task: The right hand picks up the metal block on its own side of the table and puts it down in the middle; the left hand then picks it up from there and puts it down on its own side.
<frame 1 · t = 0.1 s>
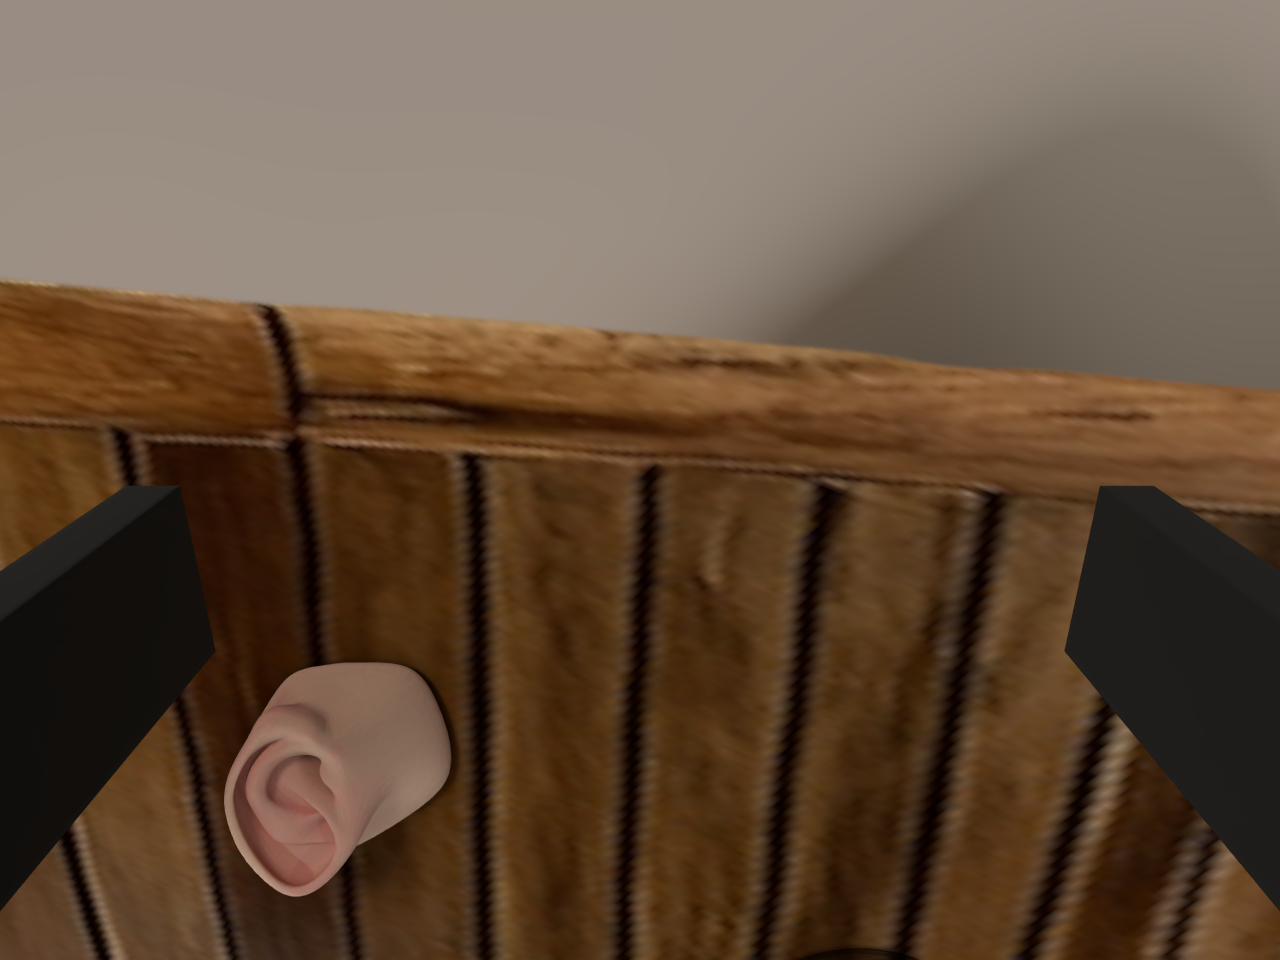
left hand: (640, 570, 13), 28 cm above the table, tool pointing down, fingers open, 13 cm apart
anatomical model: (347, 750, 48), on the table
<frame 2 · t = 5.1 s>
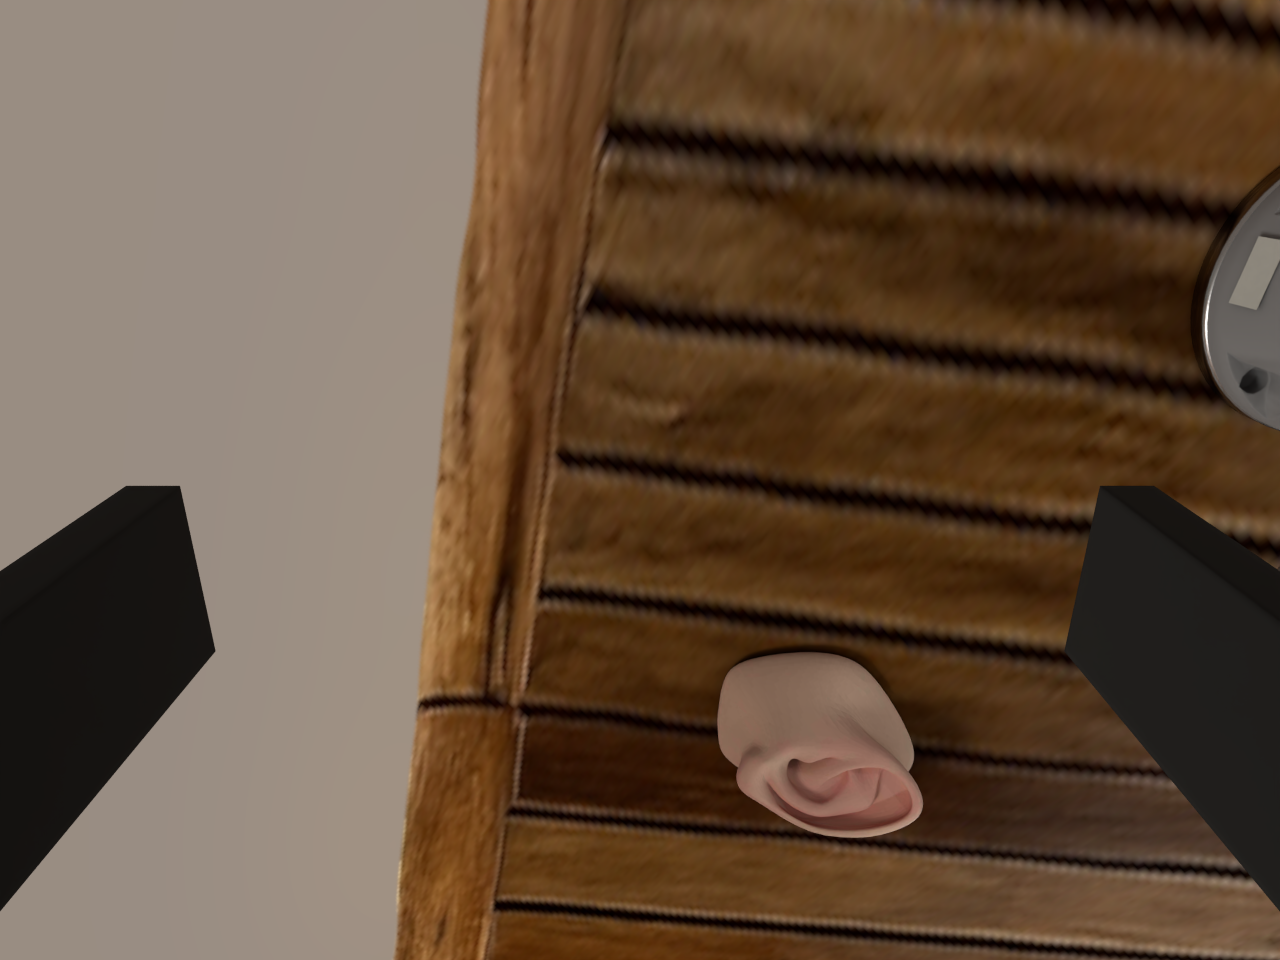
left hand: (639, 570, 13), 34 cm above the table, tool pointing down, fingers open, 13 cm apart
anatomical model: (809, 728, 55), on the table
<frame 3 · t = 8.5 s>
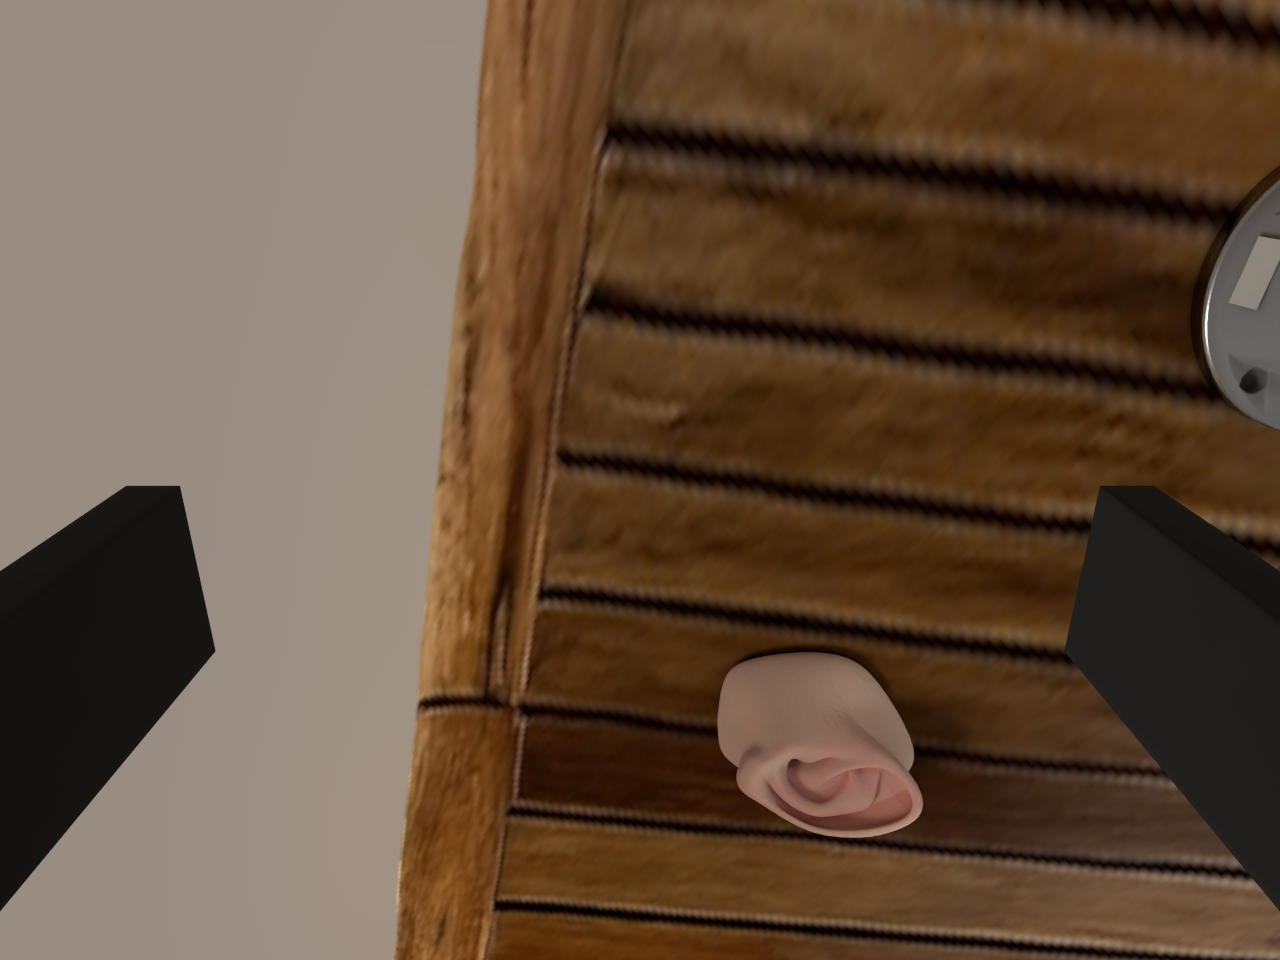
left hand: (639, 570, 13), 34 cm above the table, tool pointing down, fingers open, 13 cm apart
anatomical model: (809, 728, 55), on the table
when the right hand's fingers open (4 cm above the table, at t = 11.9 s): block drops 2 cm, on the table.
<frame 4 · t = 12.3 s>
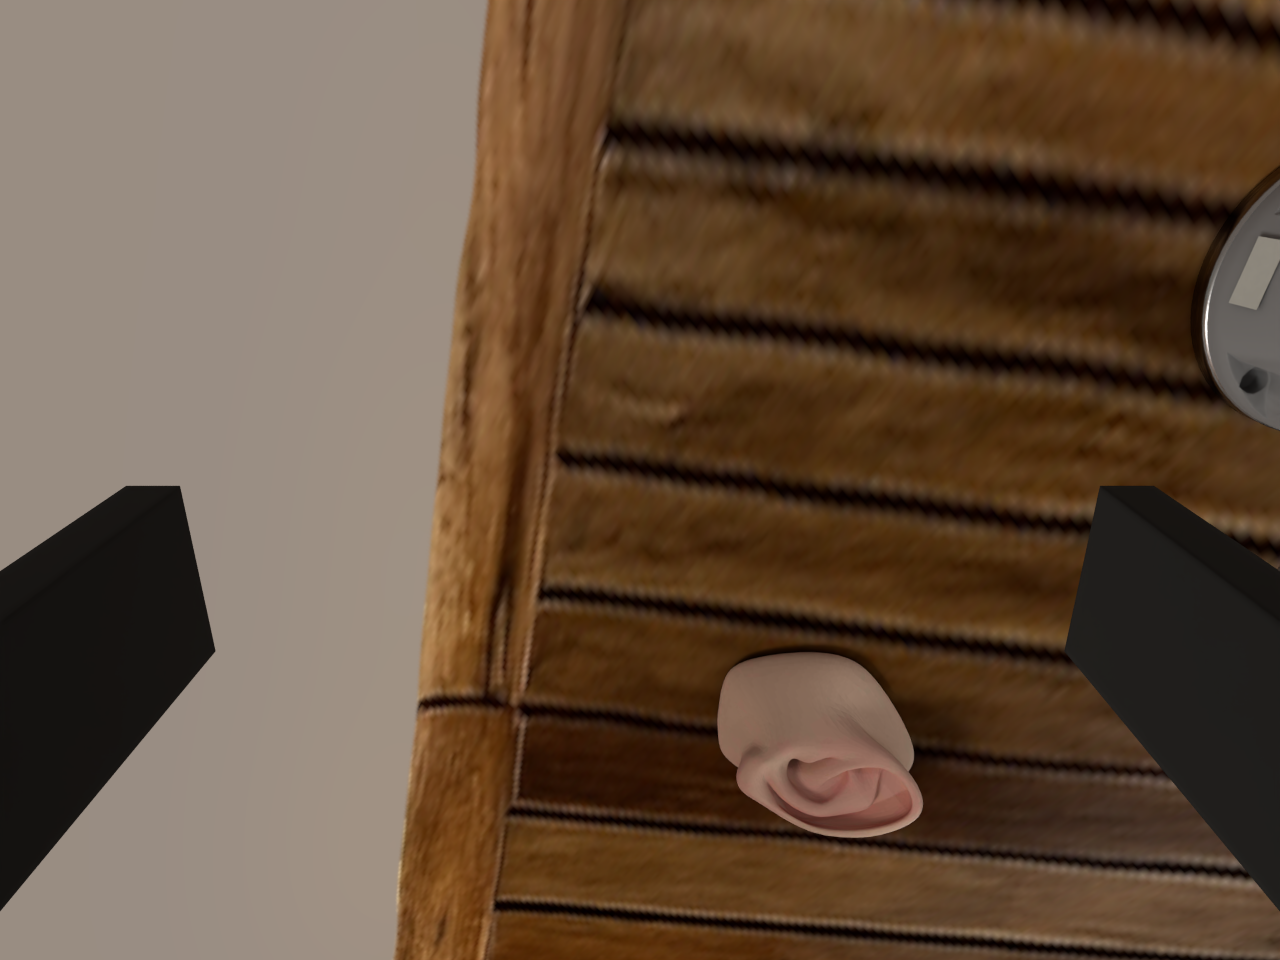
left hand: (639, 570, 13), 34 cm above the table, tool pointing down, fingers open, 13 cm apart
anatomical model: (809, 728, 55), on the table
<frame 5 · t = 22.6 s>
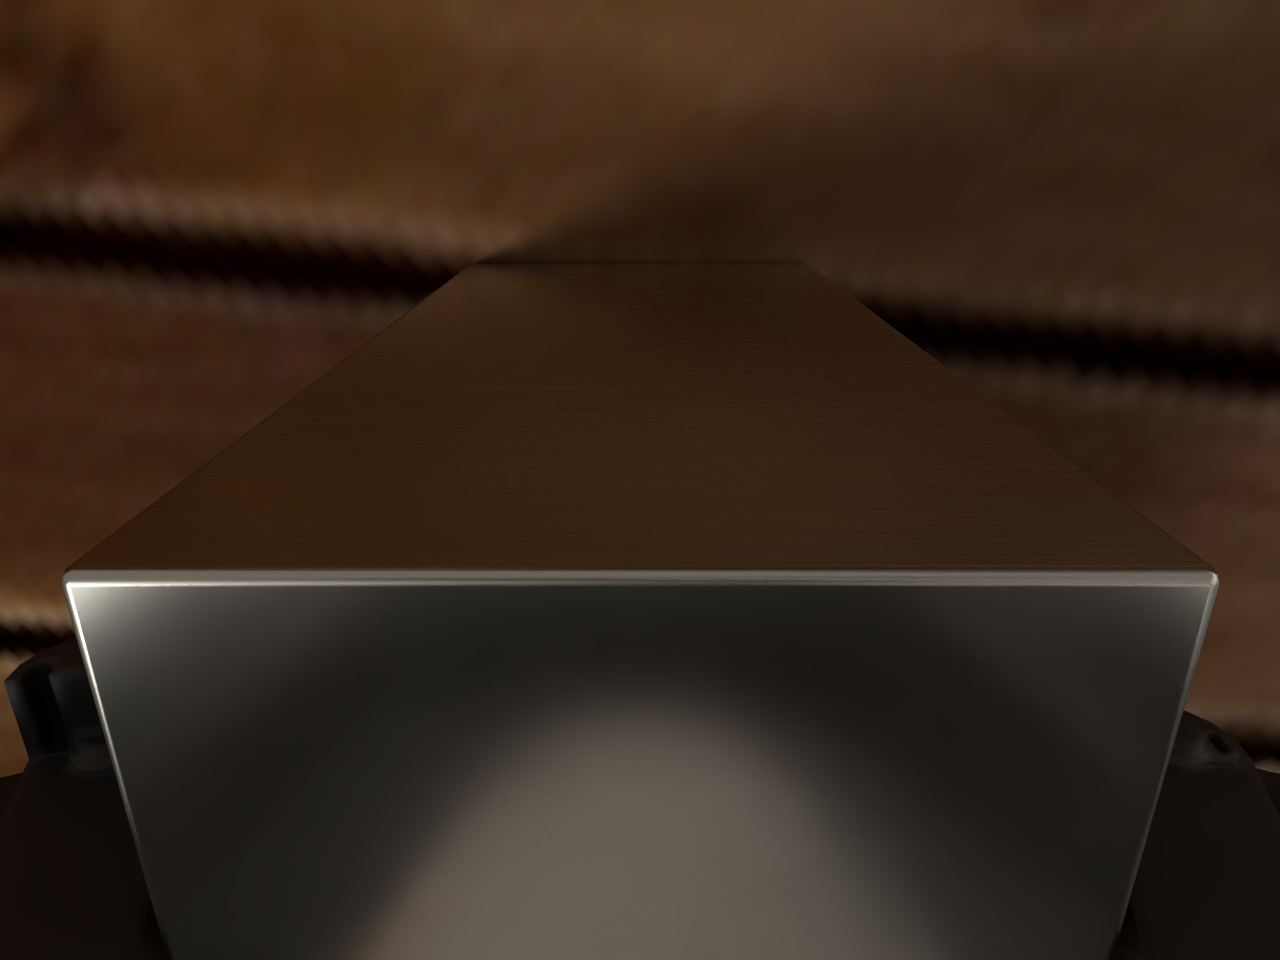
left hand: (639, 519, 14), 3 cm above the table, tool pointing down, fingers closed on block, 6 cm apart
block: (639, 461, 17), on the table, touching left hand
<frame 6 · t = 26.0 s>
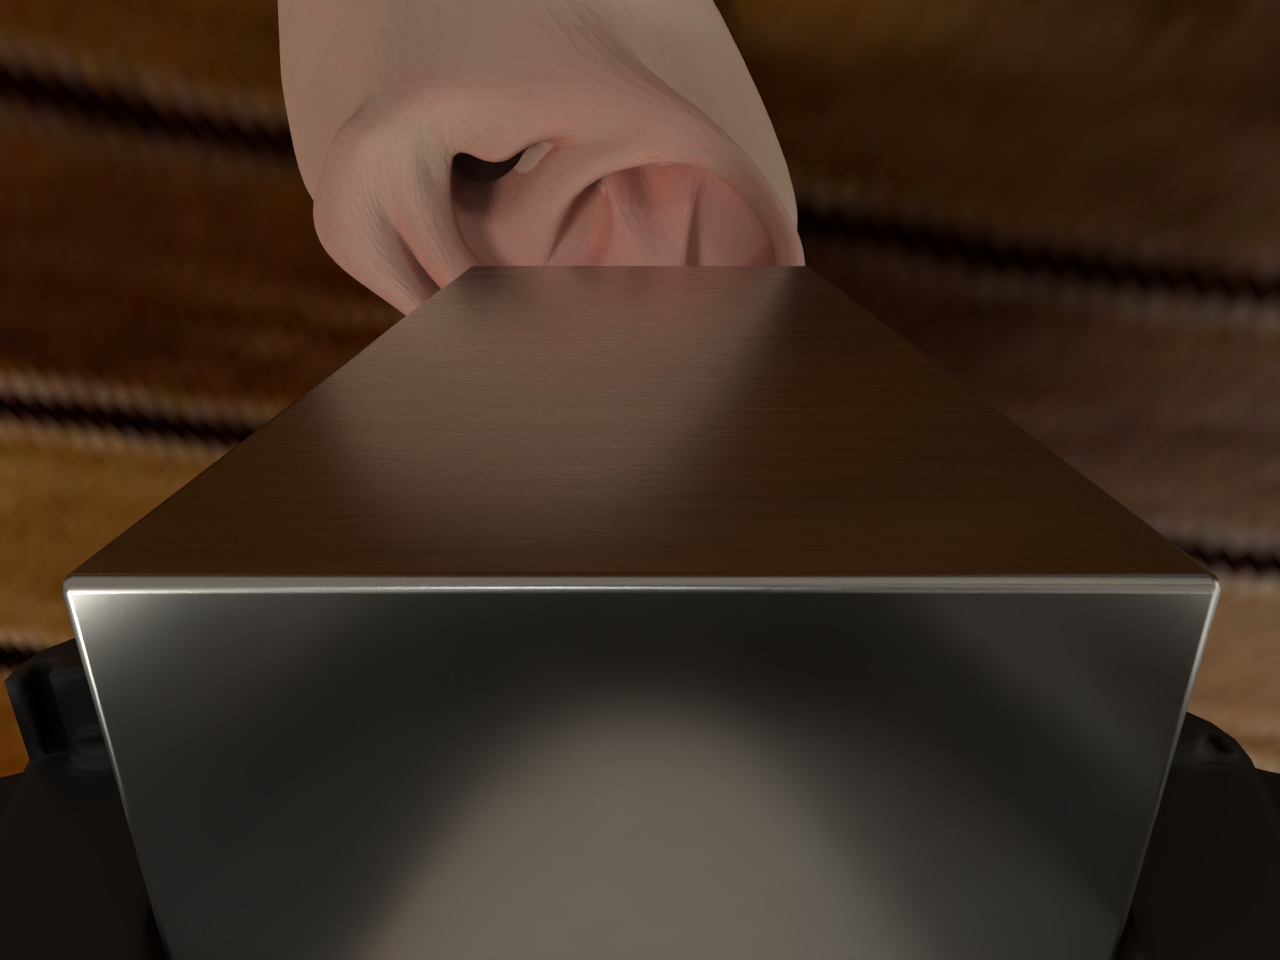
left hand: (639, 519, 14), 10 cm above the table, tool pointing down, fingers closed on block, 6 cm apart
anatomical model: (533, 139, 22), on the table
block: (639, 463, 17), point 7 cm above the table, touching left hand
when the left hand's fingers open (4 cm above the table, at t = 29.5 s): block drops 2 cm, on the table.
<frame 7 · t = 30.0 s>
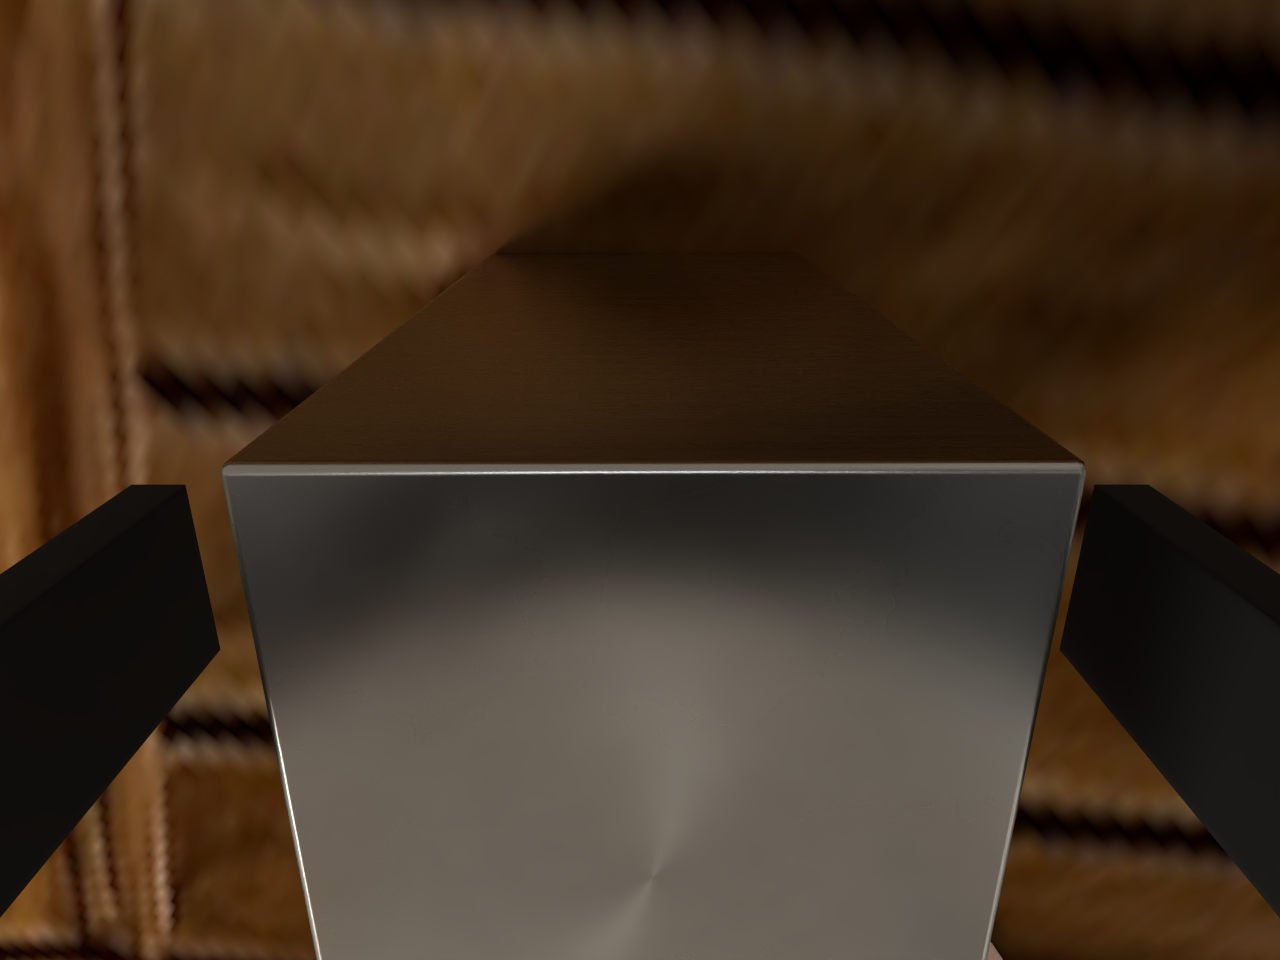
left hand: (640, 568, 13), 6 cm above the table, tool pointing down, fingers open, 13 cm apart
block: (644, 435, 18), on the table
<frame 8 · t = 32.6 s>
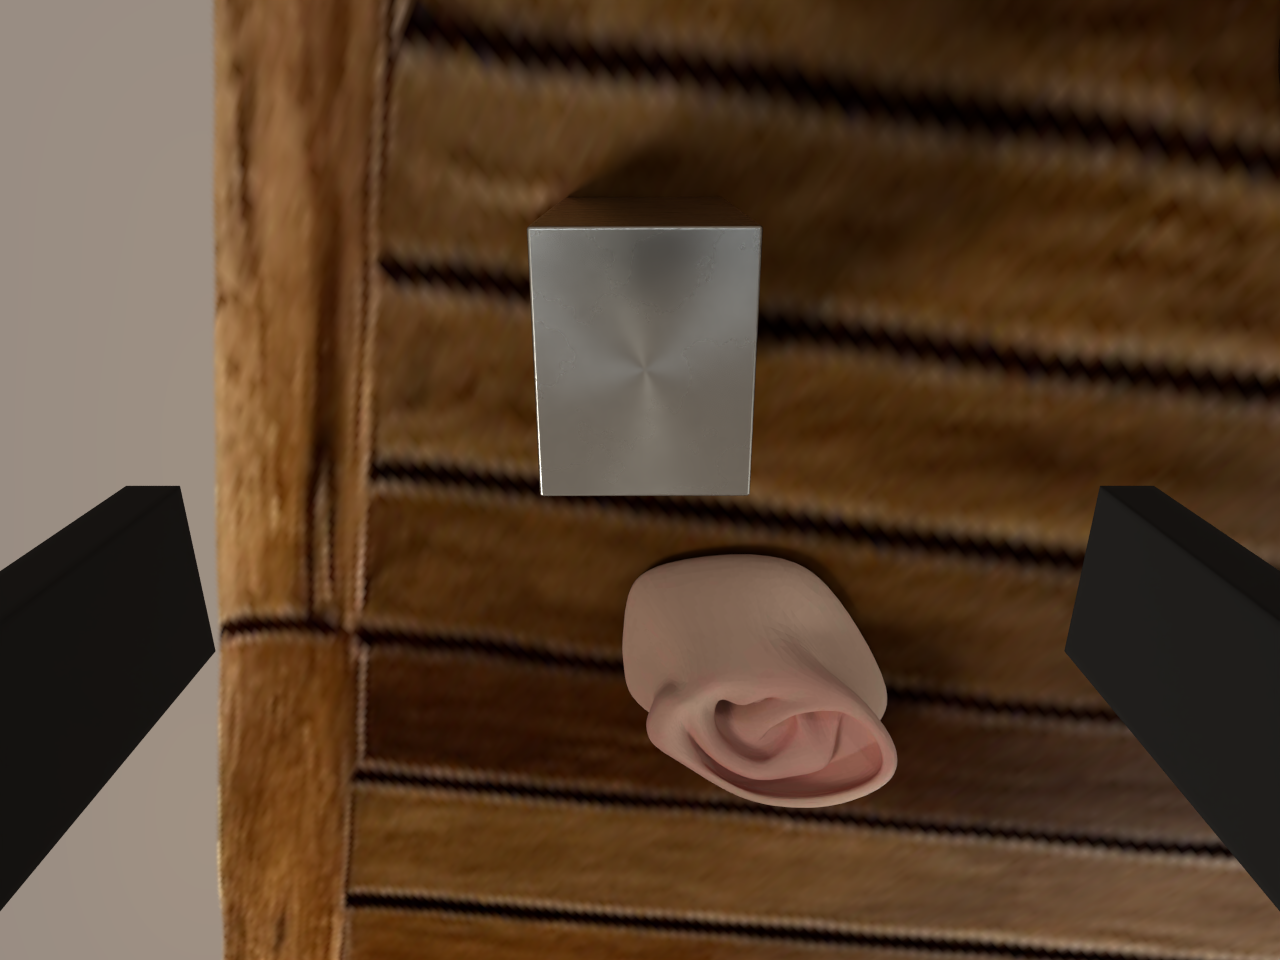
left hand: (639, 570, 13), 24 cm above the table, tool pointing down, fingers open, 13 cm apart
anatomical model: (747, 663, 41), on the table
block: (643, 296, 35), on the table
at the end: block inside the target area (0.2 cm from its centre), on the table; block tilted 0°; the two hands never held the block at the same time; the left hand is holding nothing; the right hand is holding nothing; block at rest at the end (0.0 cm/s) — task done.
